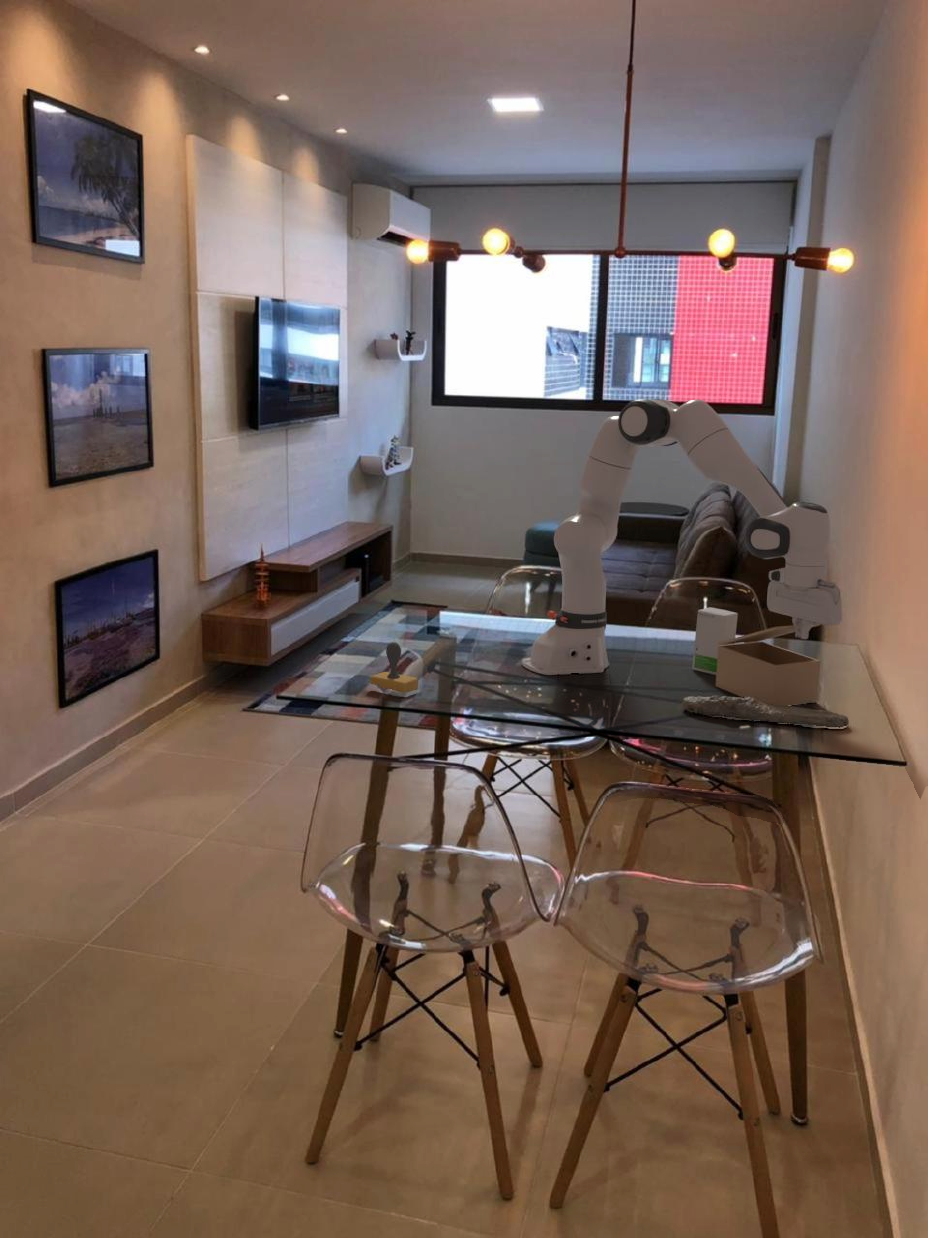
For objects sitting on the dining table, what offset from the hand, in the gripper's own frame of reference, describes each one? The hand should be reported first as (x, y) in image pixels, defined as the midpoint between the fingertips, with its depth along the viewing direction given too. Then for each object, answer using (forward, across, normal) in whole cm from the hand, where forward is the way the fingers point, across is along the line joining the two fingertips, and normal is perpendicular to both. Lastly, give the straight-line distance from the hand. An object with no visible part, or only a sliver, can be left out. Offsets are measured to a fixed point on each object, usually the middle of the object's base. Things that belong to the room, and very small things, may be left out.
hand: (801, 638), depth 238 cm
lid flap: (+2, +11, 0) cm, 11 cm away
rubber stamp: (+15, +44, +80) cm, 93 cm away
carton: (+16, +11, 0) cm, 19 cm away
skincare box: (+15, +33, -2) cm, 36 cm away
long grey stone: (+16, -4, +13) cm, 21 cm away
